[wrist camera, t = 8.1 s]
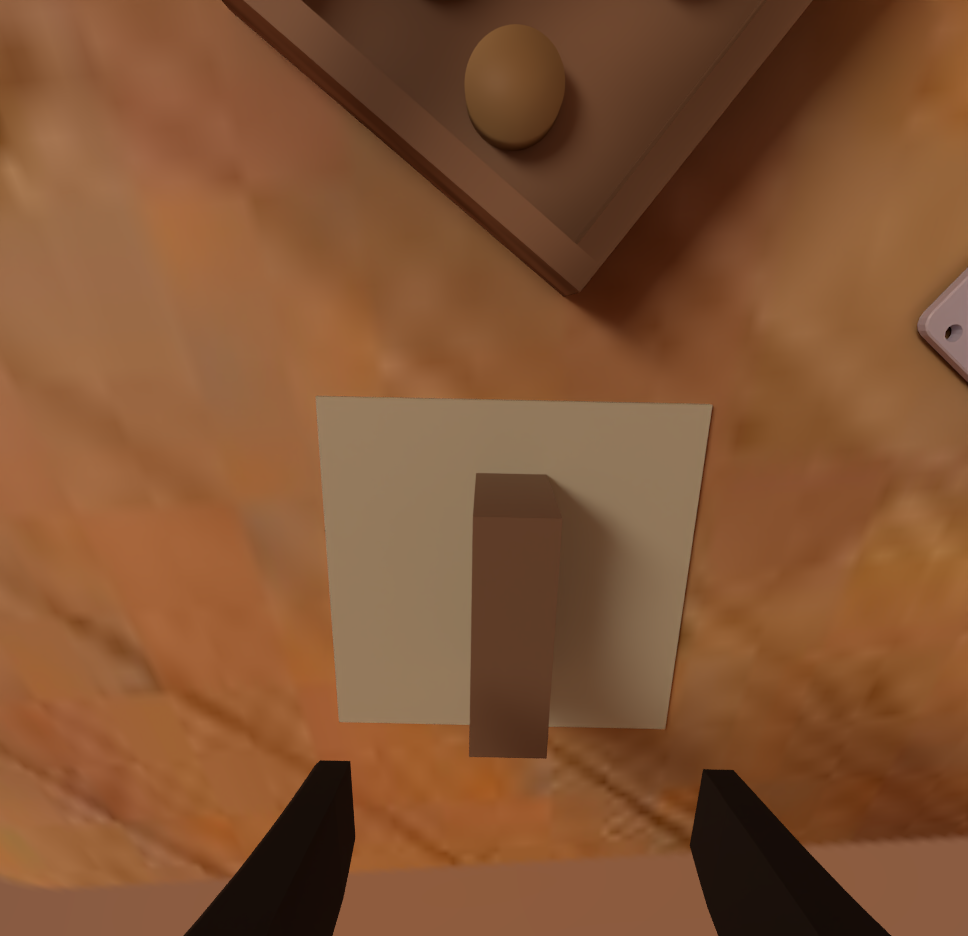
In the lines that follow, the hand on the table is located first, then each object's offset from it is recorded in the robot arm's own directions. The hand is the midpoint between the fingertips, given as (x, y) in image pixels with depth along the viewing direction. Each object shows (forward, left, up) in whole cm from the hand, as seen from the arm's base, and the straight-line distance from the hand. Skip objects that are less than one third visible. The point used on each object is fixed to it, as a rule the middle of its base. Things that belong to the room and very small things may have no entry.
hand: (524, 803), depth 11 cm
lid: (0, 0, -10) cm, 10 cm away
